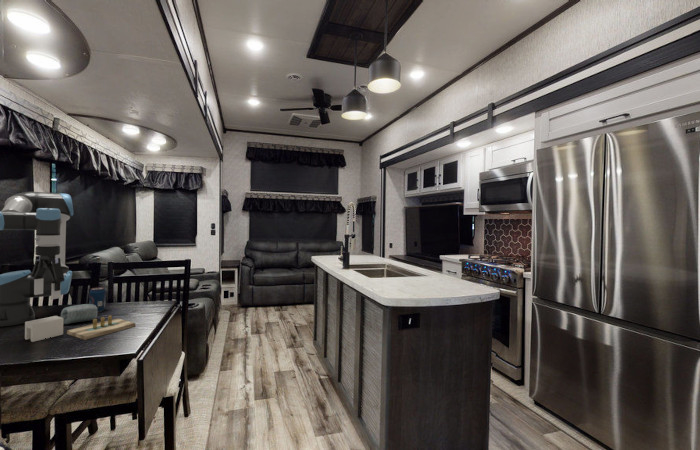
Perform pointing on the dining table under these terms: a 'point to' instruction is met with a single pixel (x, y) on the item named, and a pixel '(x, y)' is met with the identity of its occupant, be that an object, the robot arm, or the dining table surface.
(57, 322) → the white block
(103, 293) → the soda can
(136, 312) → the dining table surface
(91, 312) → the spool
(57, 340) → the dining table surface
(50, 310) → the dining table surface
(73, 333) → the wooden peg board
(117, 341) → the dining table surface
